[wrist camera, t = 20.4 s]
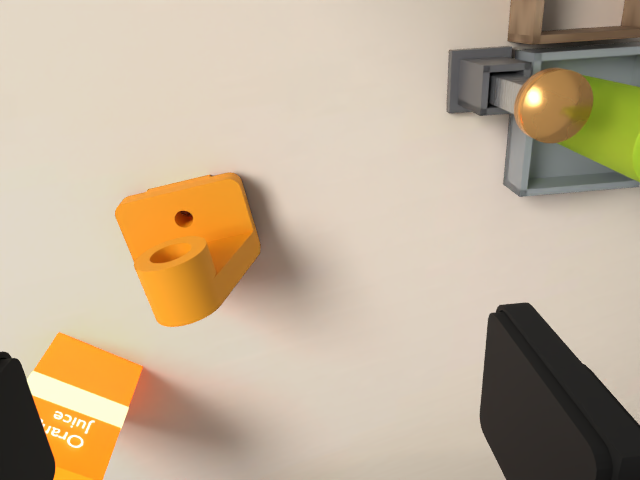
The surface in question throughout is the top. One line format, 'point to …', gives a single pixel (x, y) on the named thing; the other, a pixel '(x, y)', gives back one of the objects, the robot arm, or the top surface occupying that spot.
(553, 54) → the tray
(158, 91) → the top surface
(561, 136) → the plunger
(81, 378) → the orange juice
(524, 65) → the plunger collar
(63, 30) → the top surface
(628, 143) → the soap dispenser
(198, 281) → the bracket
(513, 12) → the wooden box
